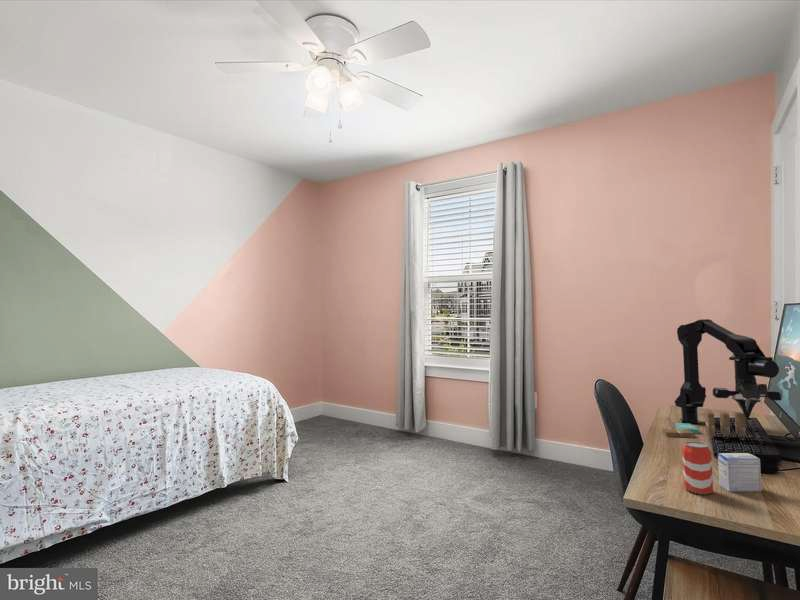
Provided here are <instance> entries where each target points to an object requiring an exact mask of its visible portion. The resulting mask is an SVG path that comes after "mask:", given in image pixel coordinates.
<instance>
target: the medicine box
mask: <svg viewBox="0 0 800 600" xmlns="http://www.w3.org/2000/svg"><path fill="white" fill-rule="evenodd" d="M717 460H718V461H717V463H718V464H717V465H718V481H719V482H718V483H719V486H720V487H721V488H723V489H725V491H728V492H762V477H761V476H762V475H761V472H762V471H761V459H760V457H757V456H755V455H754V454H751V453H749V452H725V453H724V452H720V453H719V452H718V453H717Z"/></svg>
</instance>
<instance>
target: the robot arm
mask: <svg viewBox="0 0 800 600" xmlns="http://www.w3.org/2000/svg"><path fill="white" fill-rule="evenodd" d="M676 334H677V339H678V341H679V344H680V345H682V351H683V352H682V355H683V374H684V381H683V384H682V385H681V387H680V391H679V395H678V397H676V399H675V400H674V404H675V407H677V408H680V411H681V417H679V421H680V423H690V424H696V425H698V424H699V425H700V424H702V422H701V421H700V420H699V411H698V409H699V408H703V407H704V403H705V402H706V398H707V394H706V392H707V389H706V387H705V386H702V384H701V383H700V376H699V375H700V374H699V373H700V372H699V351H698V349H699V348H698V347H699V345H700V343H701V342H702V340H703V339H702V338H703V335H704V334H707V335H710V336H711V337H713V338H715V339H716V340H718V341H720V342H721V343H723V344H724V345H725V347H726V349H727V350H728V351H729V352H730V353H732V355H731V356H729V358H728V360H730V361H733V362H734V382H735V388H734V390H729V389H727V388H726V387H714V388H713V389H712V396H714V398H716V399H728V398H730V397H731V399H732V400H734V401H735V402H736V403H737V404H738V406H739V408H740V410H741V413H742V414H744V415H745V420H746V419H748V420H749V419H750V416H751V414H752V411H753V409H754V407H755V405H756V404H757V403H761V402H762V399H761V398H768V399H769V401H783V400H782V399H783V398H782V393H781V392H779V391H778V390H776V389H768V385H767V384H766V383H759V384H758V383H757V378H756V377H757V376H758V377H763V378H770V379H773V378H776V377H777V375H778V374H779V371H780V367H779V366H778V364H777V362H775V361H774V358H773V357H772V356H766V355H765V354H764V351H763V350H762V349H761V348H760V346H759V344H758V343H757V341H756V340H755V339H754V338H752V337H749V336H746V335H740V334H737V333H734V332H732V331H730V330H728V329H726V328H725V327H723V326H721V325H719V324H717V323H715V322H714V321H713V320H712V319H710V318H709V319H708V318H707V319H705V318H703V319H698V320H696V321H692V322H690V323H686V324H681V325H679V326H678V328H677V329H676Z"/></svg>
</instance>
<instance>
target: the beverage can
mask: <svg viewBox="0 0 800 600" xmlns="http://www.w3.org/2000/svg"><path fill="white" fill-rule="evenodd" d="M681 451H682V452H681V455H682V473H683V474H682V475H683V477H682V478H683V487H684V488H685V489H686V490H688V491H689V492H690V491H691V492H690V493H693V492H694V493H693V494H696V493H698V494H697V495H708V494H710V493H712V492H713V491H714V480H713V479H714V478H713V457H712V456H713V455H712V451H711V449H710V448H709V445H708V444H707V443H705V442H701V441H693V440H691V441H690V440H689V441H685V442H684V445H683V446H682V448H681Z"/></svg>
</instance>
